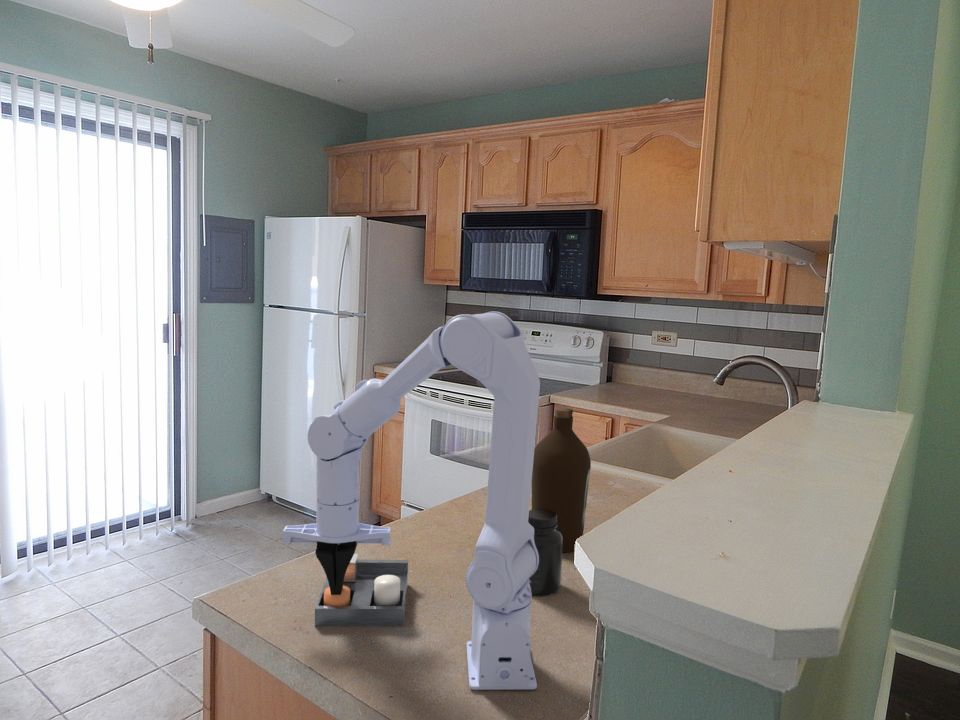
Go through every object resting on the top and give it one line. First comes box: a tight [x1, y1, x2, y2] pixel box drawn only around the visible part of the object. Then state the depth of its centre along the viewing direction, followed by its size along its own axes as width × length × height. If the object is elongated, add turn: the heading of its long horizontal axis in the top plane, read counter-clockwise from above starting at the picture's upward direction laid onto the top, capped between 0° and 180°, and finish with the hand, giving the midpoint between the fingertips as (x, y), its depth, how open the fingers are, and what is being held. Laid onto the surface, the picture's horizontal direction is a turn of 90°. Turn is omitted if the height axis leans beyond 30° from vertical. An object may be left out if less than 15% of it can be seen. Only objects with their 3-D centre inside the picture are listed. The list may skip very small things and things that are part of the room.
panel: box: [314, 559, 409, 627], centre depth 94 cm, size 12×12×4 cm
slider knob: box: [344, 553, 359, 582], centre depth 97 cm, size 3×3×3 cm
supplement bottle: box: [528, 508, 563, 597], centre depth 101 cm, size 7×7×12 cm
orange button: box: [324, 586, 350, 606], centre depth 91 cm, size 4×4×3 cm
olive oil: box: [531, 406, 592, 553], centre depth 117 cm, size 11×11×25 cm
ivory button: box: [374, 575, 400, 606], centre depth 91 cm, size 4×4×3 cm
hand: (336, 591), depth 91 cm, fingers closed, pressing on orange button
